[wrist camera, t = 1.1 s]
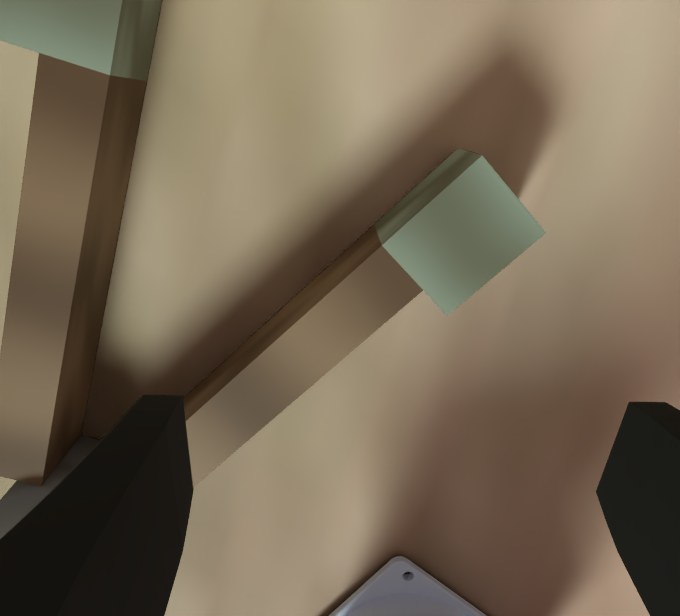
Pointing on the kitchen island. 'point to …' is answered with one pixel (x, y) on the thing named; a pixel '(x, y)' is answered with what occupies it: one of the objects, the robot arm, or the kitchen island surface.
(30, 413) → the fixed tong arm
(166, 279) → the kitchen island surface
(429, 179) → the bar
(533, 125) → the kitchen island surface
